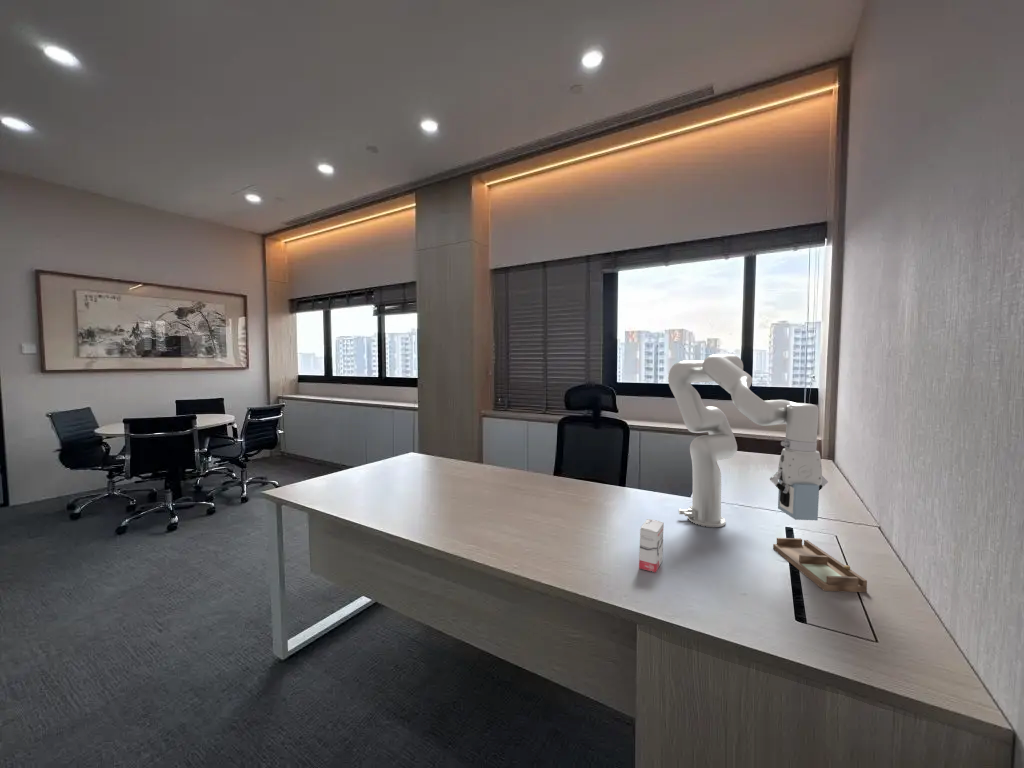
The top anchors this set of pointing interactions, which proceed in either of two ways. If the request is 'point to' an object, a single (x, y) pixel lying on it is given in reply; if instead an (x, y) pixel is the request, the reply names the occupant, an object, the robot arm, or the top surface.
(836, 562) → the brown wooden shallow tray
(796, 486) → the blue-grey rectangular block
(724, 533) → the top surface
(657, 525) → the ink box
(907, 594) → the top surface
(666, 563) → the top surface
